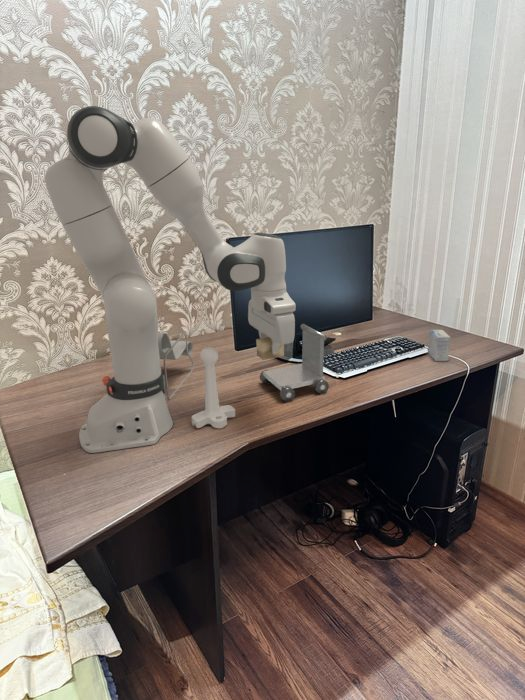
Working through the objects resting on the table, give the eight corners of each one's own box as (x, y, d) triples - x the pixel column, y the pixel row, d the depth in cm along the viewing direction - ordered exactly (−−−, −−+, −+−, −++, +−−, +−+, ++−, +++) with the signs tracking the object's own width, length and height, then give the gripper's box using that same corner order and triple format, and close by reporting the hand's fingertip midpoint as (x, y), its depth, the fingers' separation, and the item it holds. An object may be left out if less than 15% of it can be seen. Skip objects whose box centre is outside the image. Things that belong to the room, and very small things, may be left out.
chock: (263, 360, 119) (262, 343, 118) (256, 355, 123) (256, 339, 121) (284, 356, 122) (283, 339, 120) (277, 351, 125) (276, 335, 123)
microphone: (330, 346, 179) (298, 354, 164) (328, 332, 178) (295, 338, 164) (342, 345, 175) (310, 353, 160) (340, 330, 175) (308, 337, 160)
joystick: (227, 410, 124) (224, 340, 117) (242, 422, 118) (239, 348, 111) (189, 422, 119) (183, 349, 112) (202, 435, 113) (197, 358, 106)
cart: (282, 403, 128) (282, 344, 122) (259, 383, 140) (258, 329, 134) (328, 392, 134) (330, 336, 127) (302, 374, 146) (303, 322, 140)
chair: (123, 400, 132) (114, 334, 125) (156, 366, 155) (150, 309, 148) (168, 403, 129) (161, 336, 122) (195, 368, 152) (190, 310, 146)
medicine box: (448, 361, 154) (451, 336, 151) (434, 361, 154) (437, 337, 151) (440, 353, 162) (443, 329, 159) (427, 353, 162) (429, 329, 159)
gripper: (241, 291, 124) (243, 340, 129) (275, 309, 107) (276, 365, 112) (262, 288, 127) (263, 336, 132) (299, 306, 109) (299, 360, 114)
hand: (270, 349), depth 122 cm, fingers closed on chock, 4 cm apart
